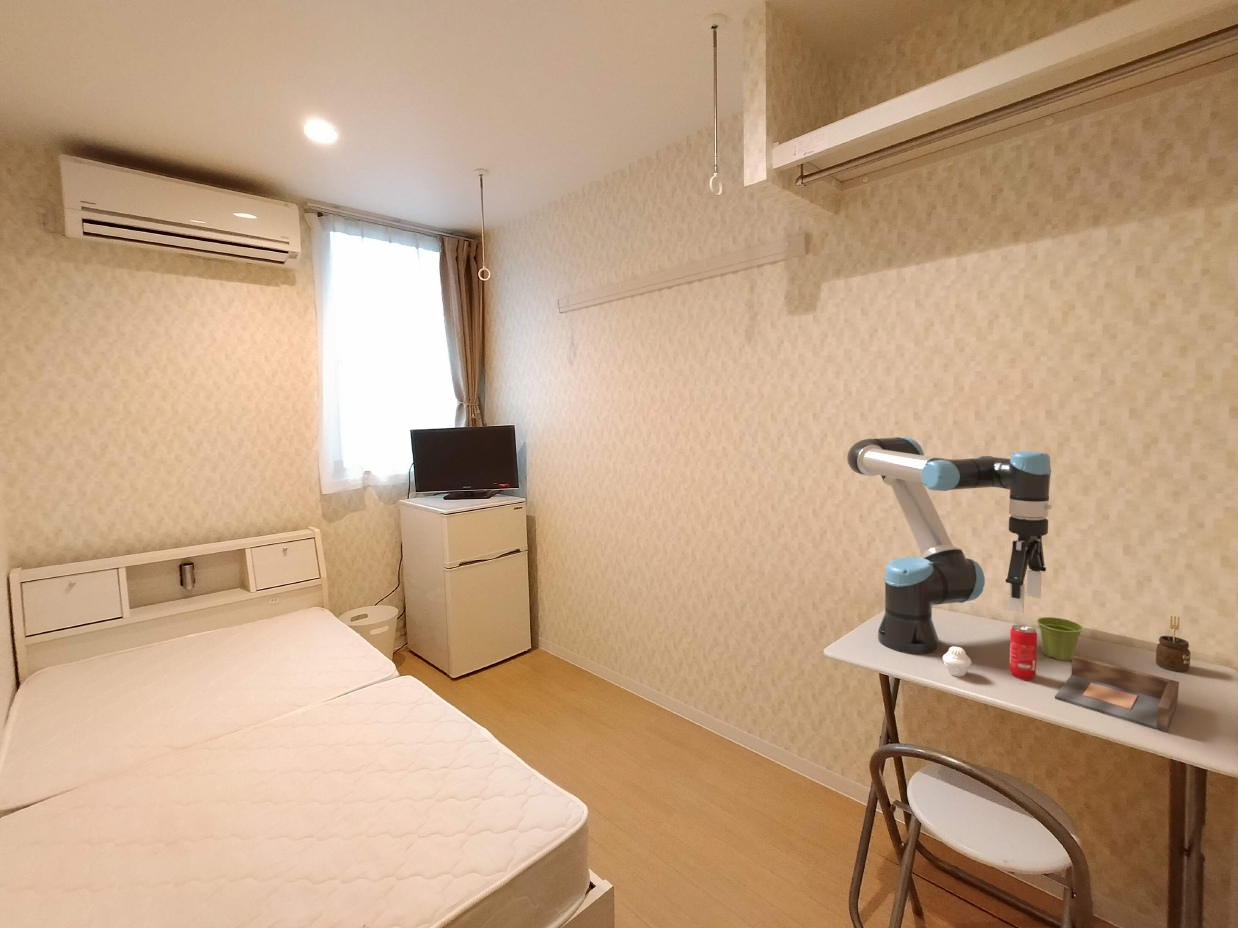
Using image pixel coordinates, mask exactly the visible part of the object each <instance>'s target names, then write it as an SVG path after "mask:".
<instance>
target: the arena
mask: <svg viewBox="0 0 1238 928" xmlns="http://www.w3.org/2000/svg"><path fill="white" fill-rule="evenodd" d="M1179 685H1180V681H1178V680H1177V681H1176V680H1174V679H1169V678H1164V677H1161V676H1157V675H1155V674H1154V675H1153V674H1148V673H1145V672H1141V671H1139V670H1138V671H1137V670H1133V669H1129V668H1126V667H1123V666H1122V667H1121V666H1118V665H1114V664H1110V663H1105V662H1101V661H1099V660H1093V659H1090V658H1087V657H1081V656H1079V655H1075V654H1074V656H1073V657H1072V659H1071V674H1070V676H1069V677H1068V679H1066V681H1065V683H1064V684H1063V685H1062V686H1061V687H1060V689H1059V690H1058V692H1057V693H1056V694H1055V696H1054V699H1056V700H1059V701H1061V702H1064V703H1069V704H1071V705H1075V706H1078V707H1081V708H1084V709H1085V708H1086V709H1088V710H1091V711H1095V712H1098V713H1100V714H1101V713H1102V714H1105V715H1108V716H1111V717H1114V718H1117V719H1121V720H1122V721H1123V720H1124V721H1127V722H1131V723H1133V724H1137V725H1140V726H1144V727H1146V726H1147V727H1146V728H1149V729H1153V730H1156V729H1158V730H1157V731H1159V730H1160V731H1159V732H1163V733H1166V734H1167V733H1168V730H1169V727H1170V725H1171V722H1172V719H1173V716H1174V714H1175V712H1176V709H1177V707H1178V701H1179V700H1178V699H1179Z"/></svg>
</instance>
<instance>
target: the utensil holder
mask: <svg viewBox="0 0 1238 928" xmlns="http://www.w3.org/2000/svg"><path fill="white" fill-rule="evenodd" d="M1166 629H1167V630H1166V631H1168V632H1170V631H1171V630H1173V632H1172V634H1173V635H1161V636H1159V639H1158V644H1157V645H1156V650H1155V651H1156V652H1155V662H1156V665H1157V666H1159V667H1160V668H1163V669H1165V670H1169V671H1172V672H1178V673H1180V672H1181V673H1186V672H1187V671H1189V669H1190V666H1191V652H1190V649H1189V647H1190V643H1189V641H1187V640H1185V639H1183V638H1181V637H1180V635H1182V634H1181V630H1180V617H1179V616H1174V617H1173V616H1172V615H1170V625H1169V626H1168V627H1167V628H1166ZM1176 631H1177V636H1176Z"/></svg>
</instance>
